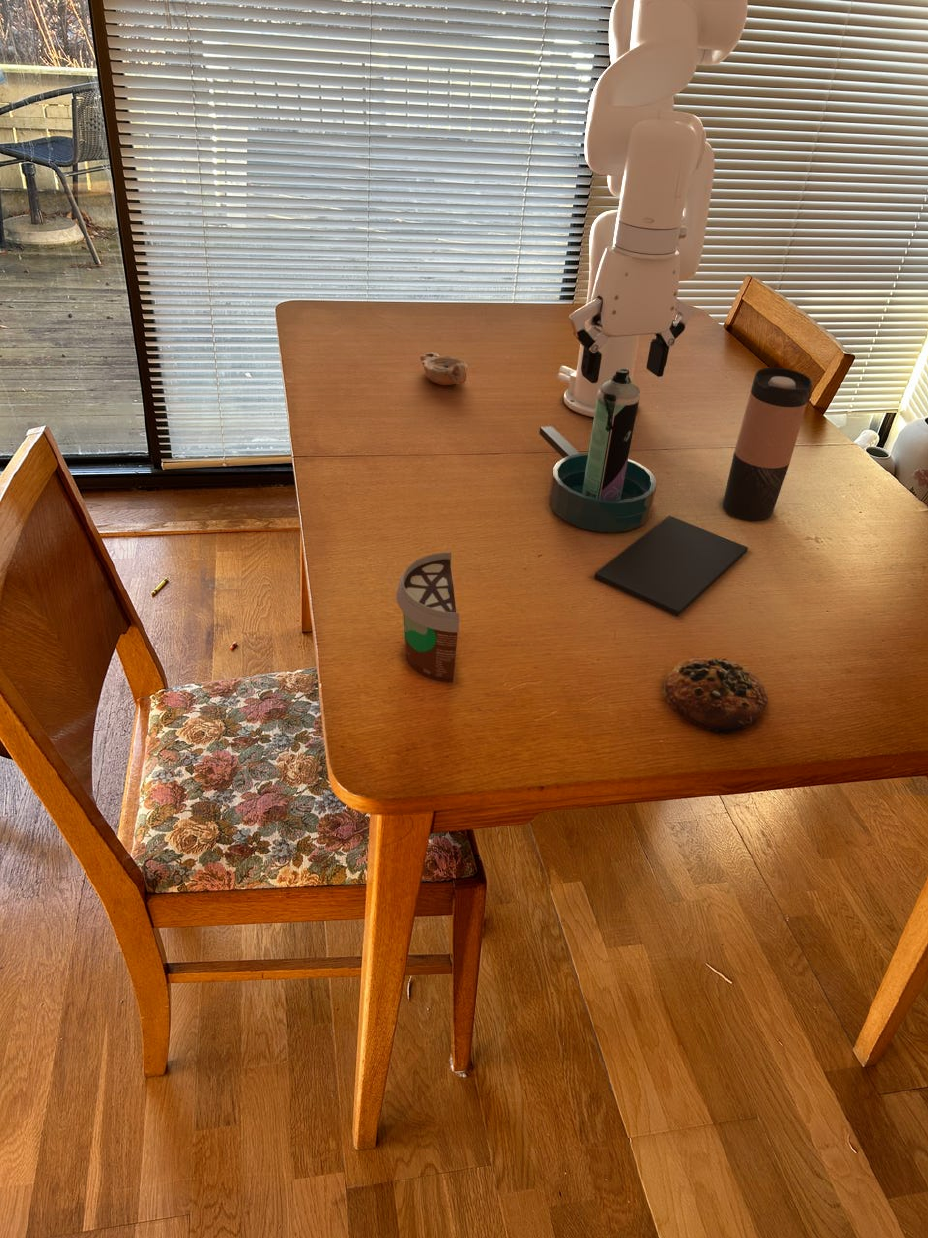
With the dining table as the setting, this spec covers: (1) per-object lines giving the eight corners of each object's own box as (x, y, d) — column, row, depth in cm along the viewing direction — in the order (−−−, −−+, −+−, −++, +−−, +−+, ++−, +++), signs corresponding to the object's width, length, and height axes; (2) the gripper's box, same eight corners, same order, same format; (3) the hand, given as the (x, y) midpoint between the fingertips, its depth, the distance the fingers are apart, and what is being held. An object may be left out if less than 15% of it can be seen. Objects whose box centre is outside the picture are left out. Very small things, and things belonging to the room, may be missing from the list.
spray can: (617, 517, 130) (643, 381, 118) (578, 511, 131) (600, 375, 119) (620, 498, 134) (645, 365, 122) (582, 493, 135) (603, 360, 123)
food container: (393, 621, 108) (395, 549, 102) (446, 621, 109) (451, 549, 103) (396, 692, 99) (398, 616, 93) (454, 691, 99) (459, 616, 93)
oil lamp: (410, 369, 169) (411, 342, 166) (447, 364, 172) (448, 338, 169) (442, 398, 160) (443, 370, 157) (480, 392, 163) (482, 365, 160)
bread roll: (700, 745, 95) (709, 704, 92) (640, 689, 103) (646, 650, 101) (786, 723, 99) (796, 683, 96) (721, 671, 107) (729, 633, 105)
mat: (593, 578, 118) (594, 573, 118) (668, 520, 131) (669, 515, 131) (677, 617, 113) (679, 611, 112) (747, 552, 126) (748, 547, 125)
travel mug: (775, 503, 137) (814, 373, 125) (771, 527, 131) (812, 394, 119) (723, 491, 139) (757, 362, 127) (717, 515, 133) (752, 383, 121)
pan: (529, 507, 131) (533, 476, 128) (583, 473, 141) (588, 443, 138) (616, 546, 125) (623, 513, 122) (667, 507, 134) (674, 476, 131)
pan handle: (585, 467, 137) (586, 459, 136) (573, 468, 136) (574, 461, 135) (550, 432, 145) (551, 425, 144) (539, 433, 144) (539, 426, 144)
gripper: (690, 227, 116) (663, 360, 126) (567, 232, 111) (549, 370, 121) (724, 244, 111) (694, 381, 121) (597, 249, 105) (576, 393, 115)
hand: (622, 375), depth 121 cm, fingers open, 9 cm apart
